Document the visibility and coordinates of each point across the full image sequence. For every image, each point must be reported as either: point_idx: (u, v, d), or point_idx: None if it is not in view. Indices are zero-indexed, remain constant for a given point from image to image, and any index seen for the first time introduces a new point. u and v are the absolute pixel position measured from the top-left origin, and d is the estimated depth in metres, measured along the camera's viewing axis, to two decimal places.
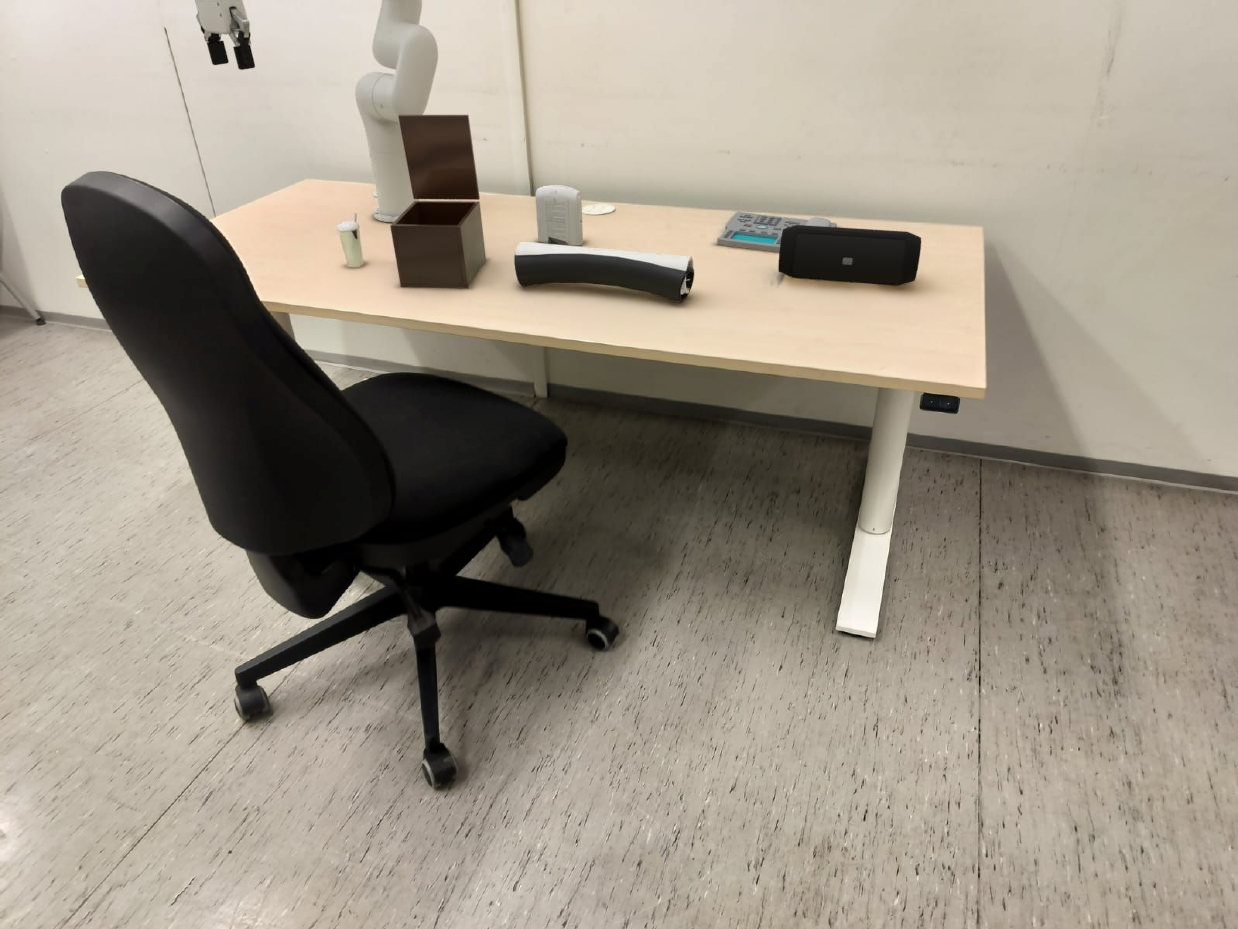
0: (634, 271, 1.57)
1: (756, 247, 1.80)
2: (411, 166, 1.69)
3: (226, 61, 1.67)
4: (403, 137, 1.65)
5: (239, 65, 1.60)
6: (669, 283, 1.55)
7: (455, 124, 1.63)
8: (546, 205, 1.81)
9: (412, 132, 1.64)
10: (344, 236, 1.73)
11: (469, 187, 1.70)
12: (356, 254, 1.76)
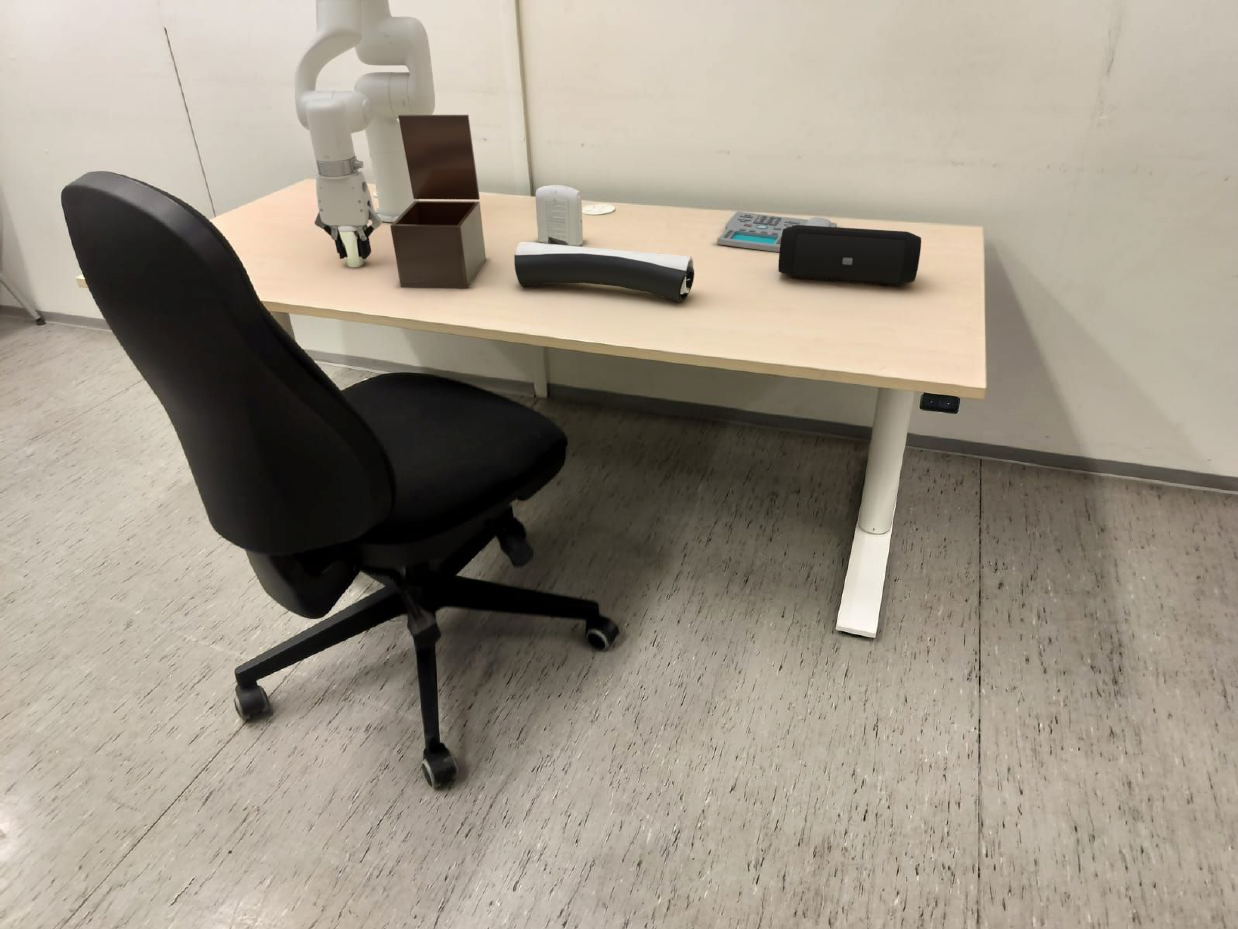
0: (634, 271, 1.57)
1: (756, 247, 1.80)
2: (411, 166, 1.69)
3: None
4: (403, 137, 1.65)
5: (364, 255, 1.76)
6: (669, 283, 1.55)
7: (455, 124, 1.63)
8: (546, 205, 1.81)
9: (412, 132, 1.64)
10: (345, 236, 1.73)
11: (469, 187, 1.70)
12: (356, 254, 1.75)
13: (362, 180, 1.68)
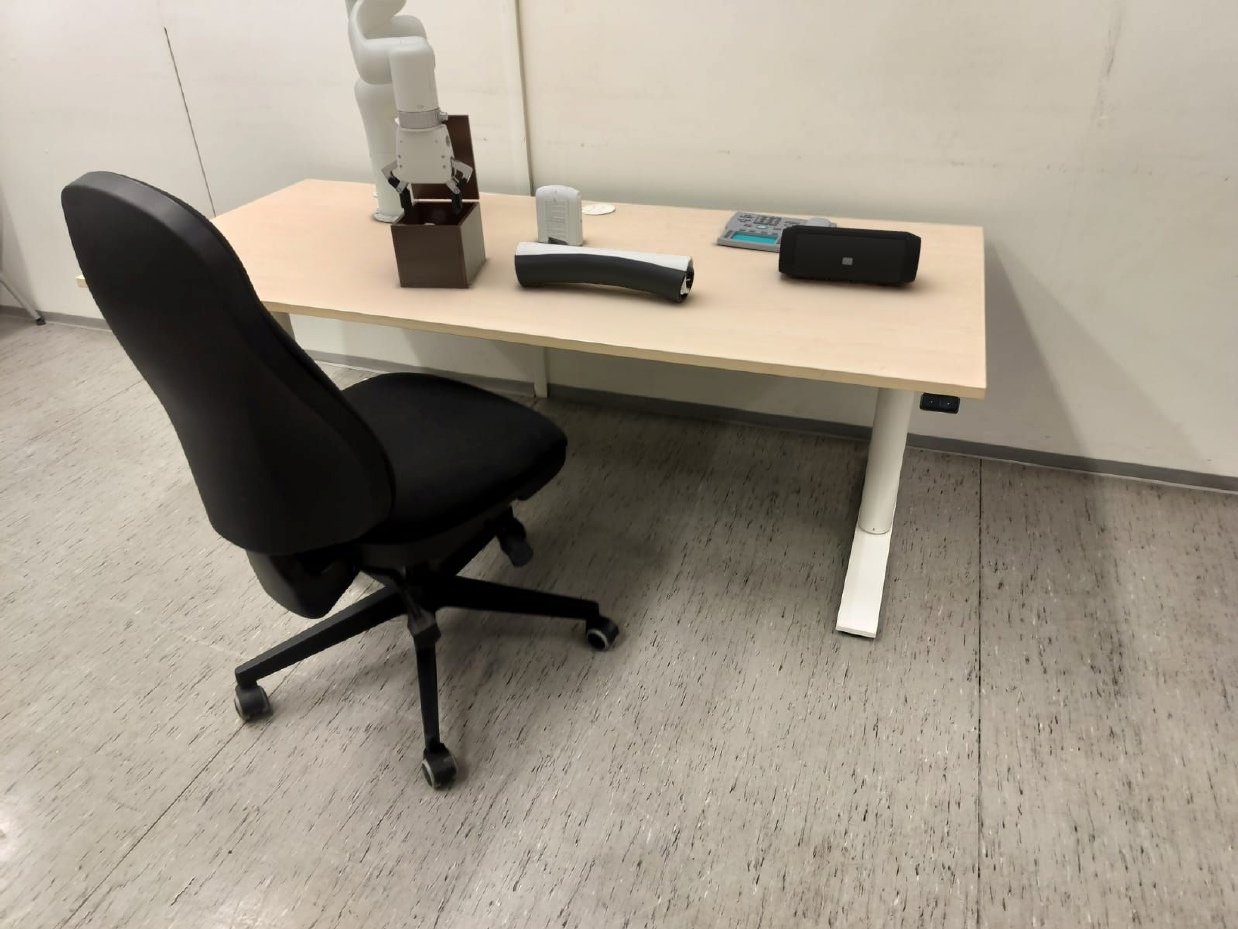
0: (634, 271, 1.57)
1: (756, 247, 1.80)
2: None
3: (411, 208, 1.66)
4: None
5: (456, 211, 1.62)
6: (669, 283, 1.55)
7: (455, 124, 1.63)
8: (546, 205, 1.81)
9: None
10: None
11: (469, 187, 1.70)
12: None
13: (446, 133, 1.56)
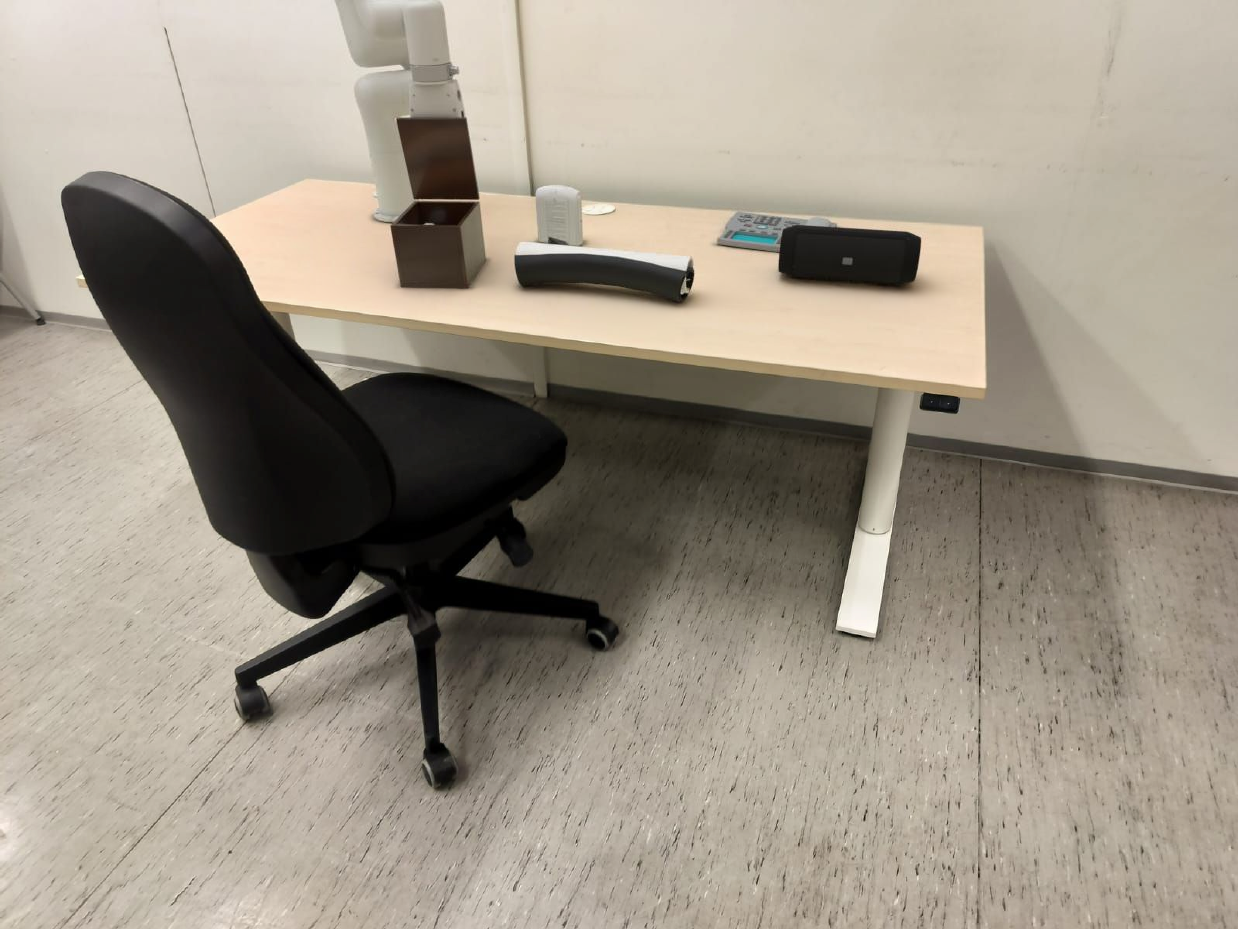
0: (634, 271, 1.57)
1: (756, 247, 1.80)
2: (410, 167, 1.68)
3: None
4: (401, 139, 1.64)
5: None
6: (669, 283, 1.55)
7: (453, 127, 1.62)
8: (546, 205, 1.81)
9: (411, 134, 1.64)
10: None
11: (469, 188, 1.70)
12: None
13: (457, 87, 1.62)
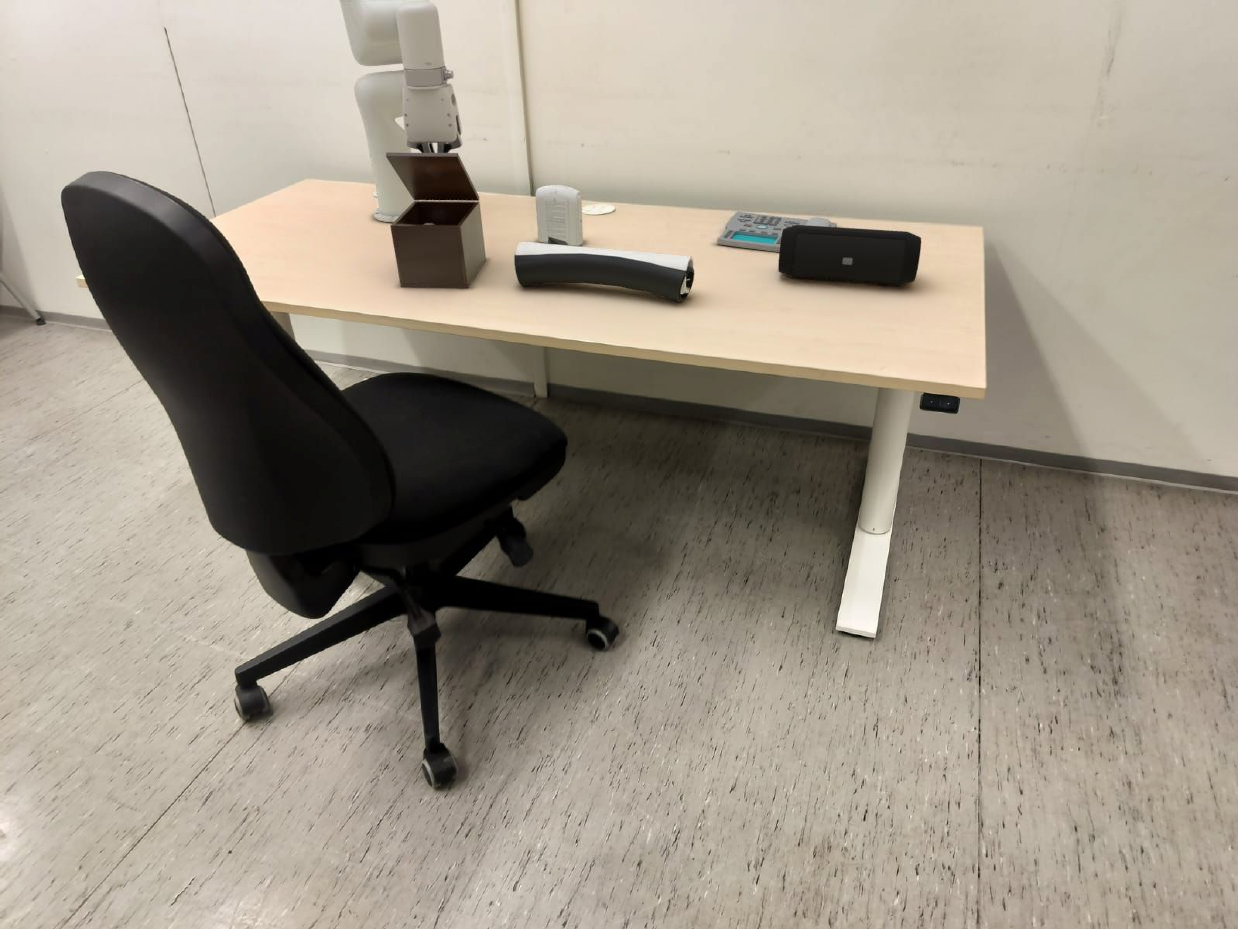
0: (634, 271, 1.57)
1: (756, 247, 1.80)
2: (407, 183, 1.67)
3: None
4: (394, 168, 1.61)
5: None
6: (669, 283, 1.55)
7: (446, 161, 1.58)
8: (546, 205, 1.81)
9: (403, 165, 1.60)
10: None
11: (468, 194, 1.70)
12: None
13: (451, 92, 1.58)
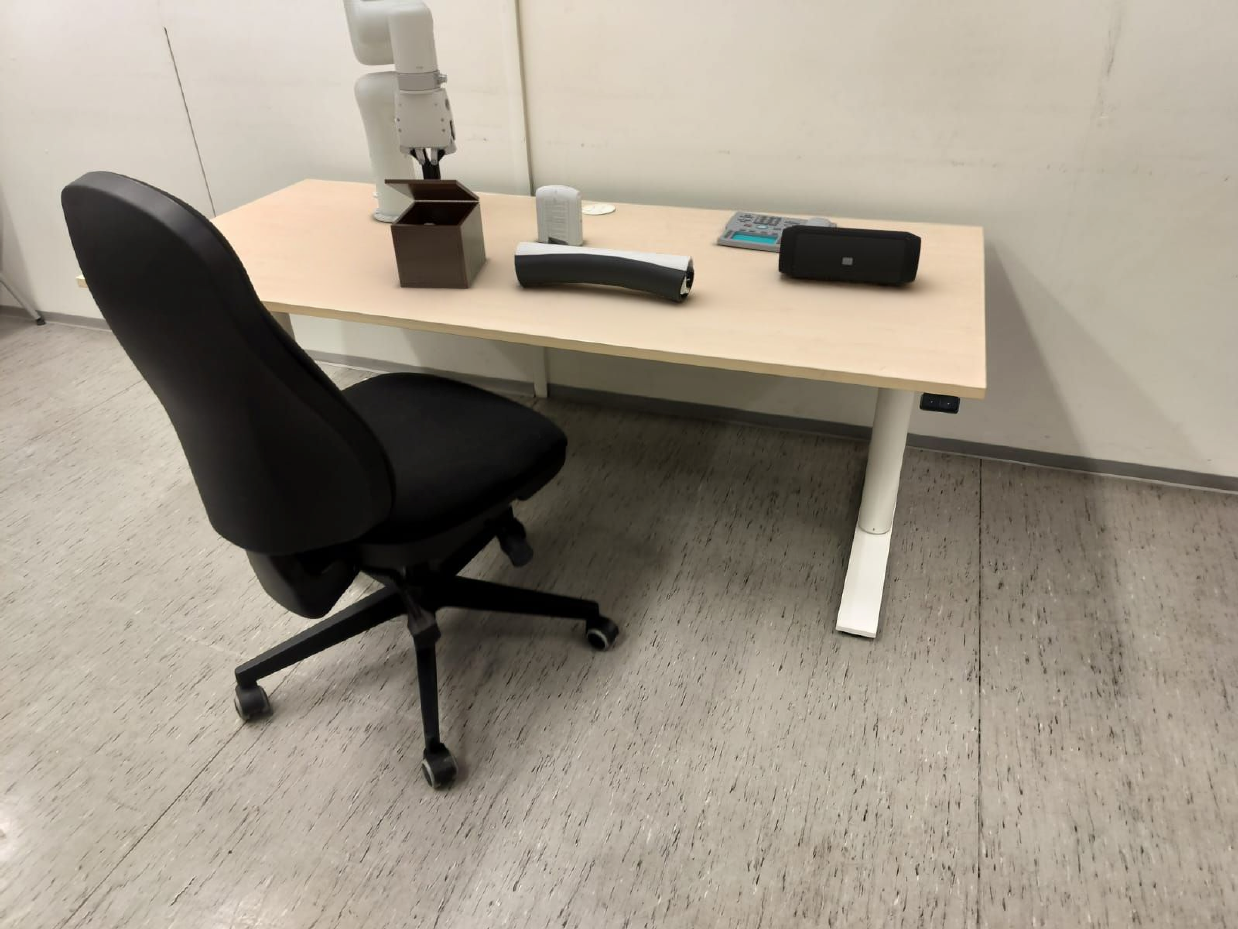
0: (634, 271, 1.57)
1: (756, 247, 1.80)
2: (406, 193, 1.67)
3: None
4: (393, 188, 1.61)
5: None
6: (669, 283, 1.55)
7: (445, 185, 1.58)
8: (546, 205, 1.81)
9: (402, 186, 1.60)
10: None
11: (468, 198, 1.70)
12: None
13: (445, 96, 1.55)
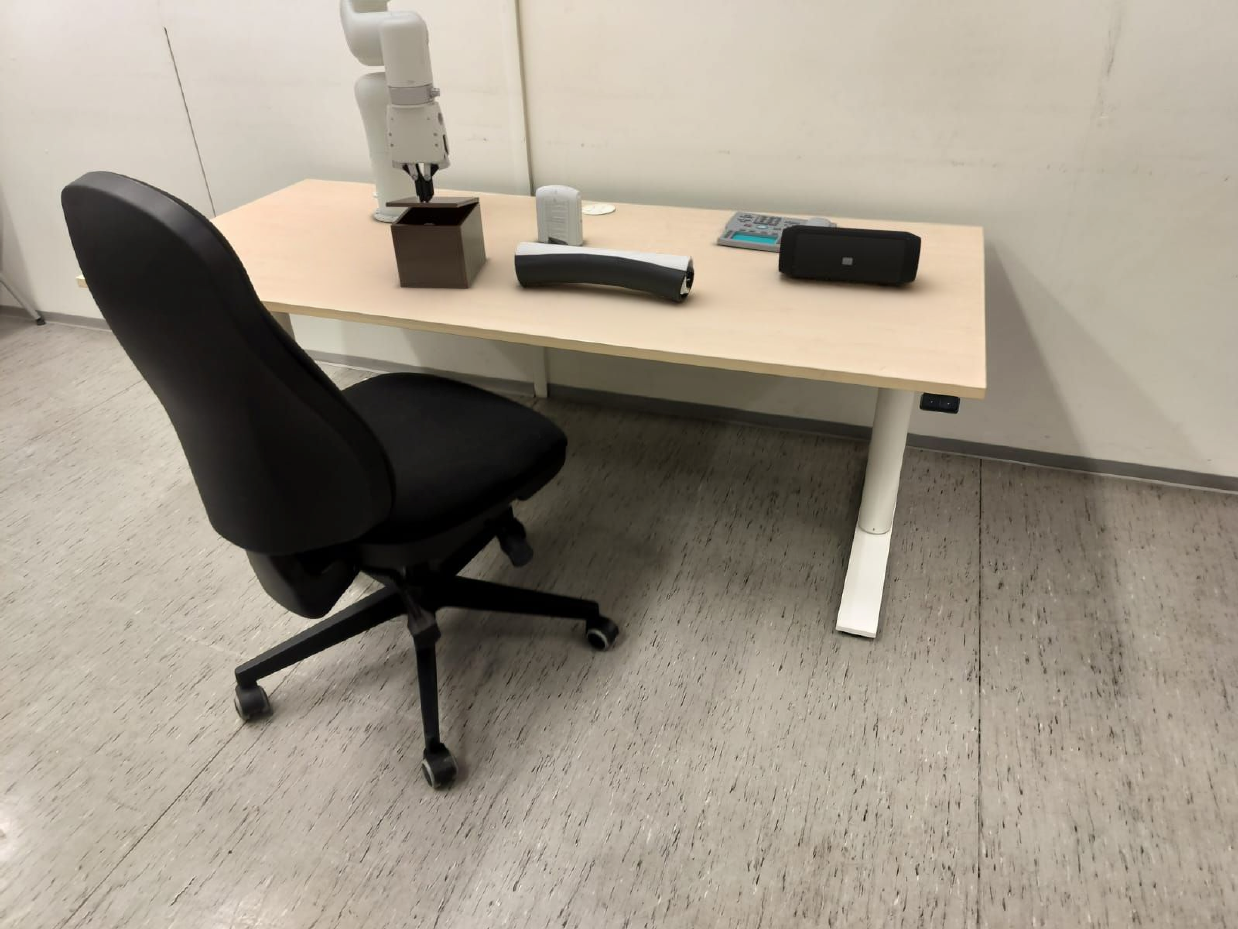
0: (634, 271, 1.57)
1: (756, 247, 1.80)
2: None
3: None
4: None
5: (427, 198, 1.58)
6: (669, 283, 1.55)
7: None
8: (546, 205, 1.81)
9: None
10: None
11: None
12: None
13: (438, 110, 1.51)
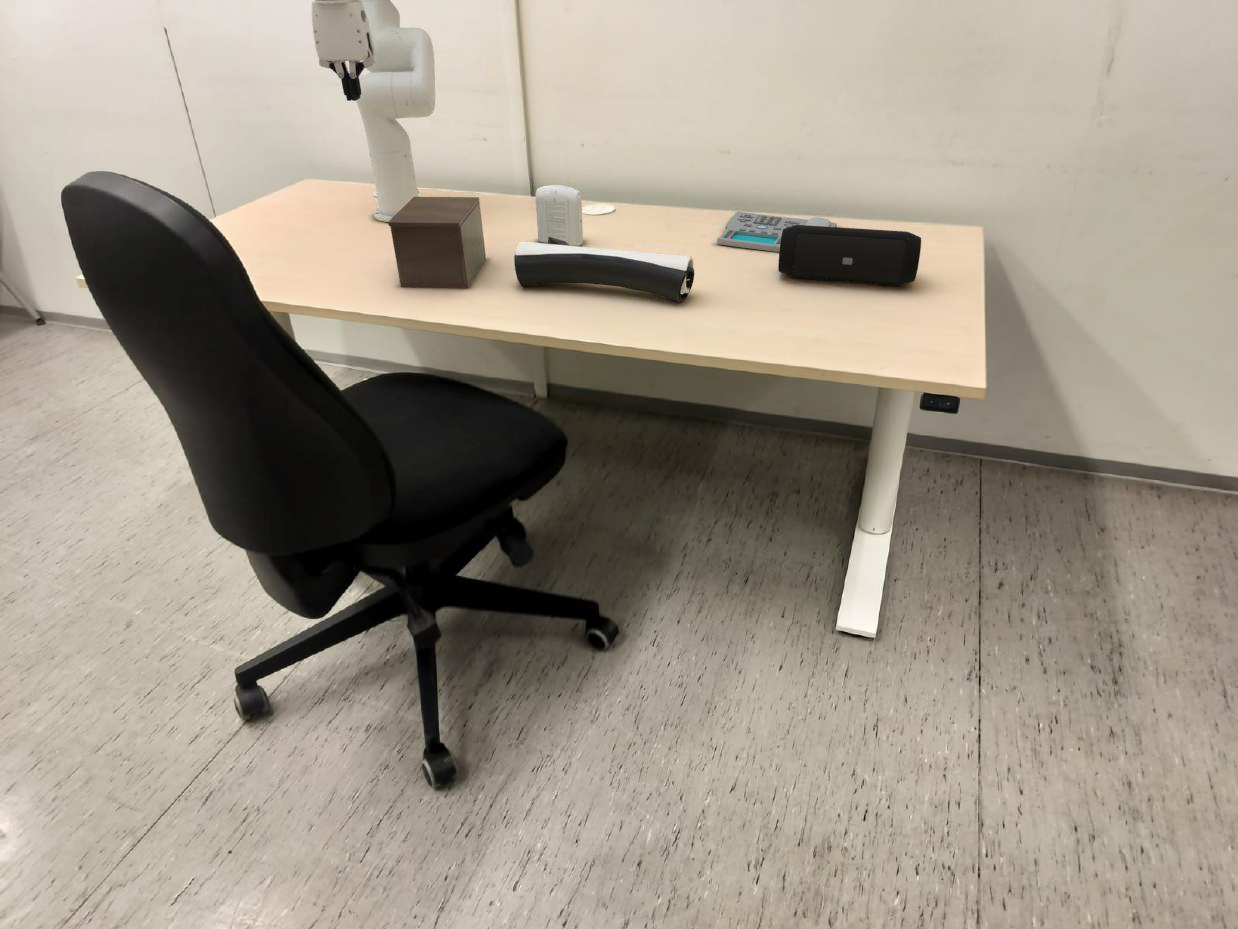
0: (634, 271, 1.57)
1: (756, 247, 1.80)
2: None
3: None
4: None
5: (354, 96, 1.65)
6: (669, 283, 1.55)
7: None
8: (546, 205, 1.81)
9: None
10: None
11: None
12: None
13: (361, 8, 1.57)
